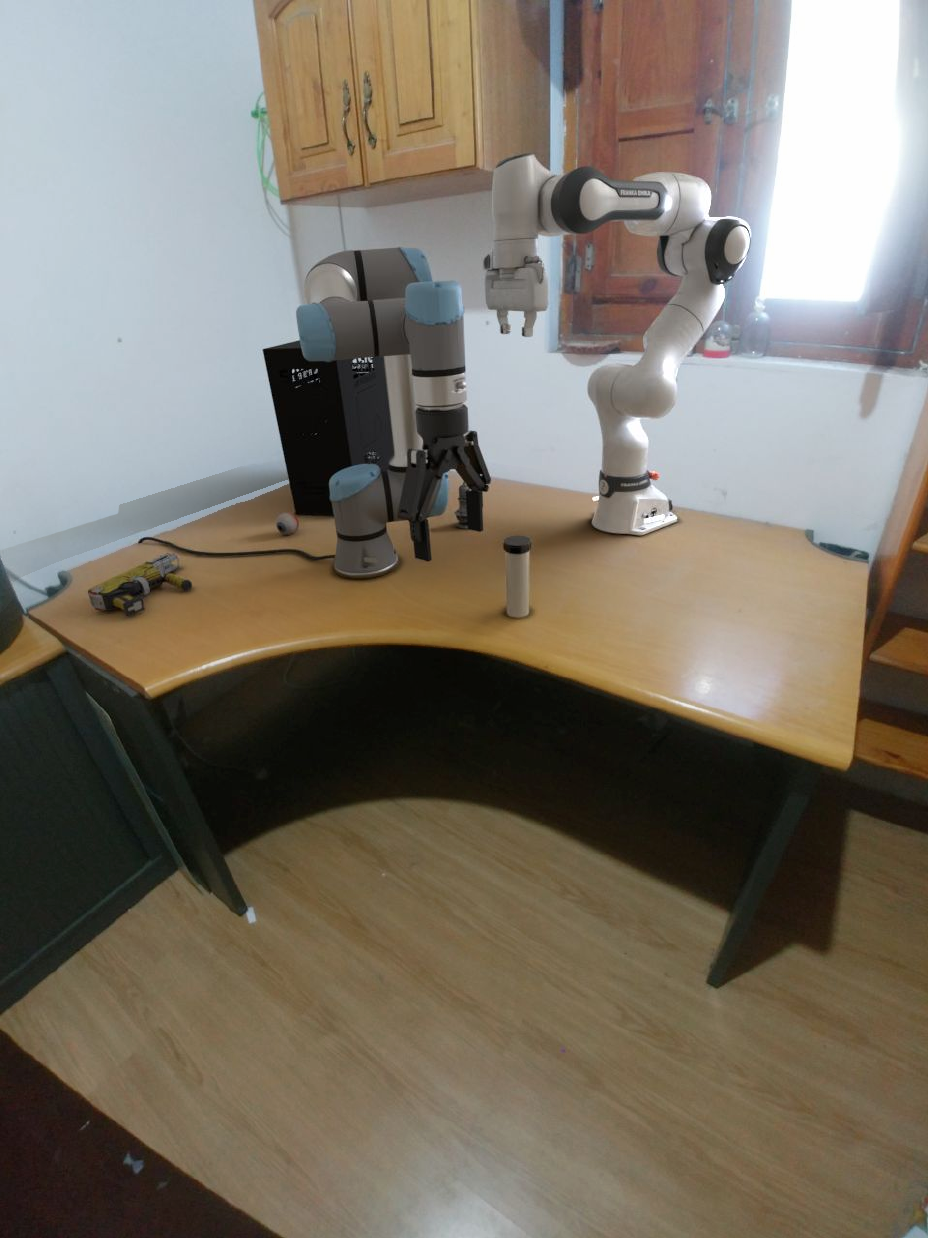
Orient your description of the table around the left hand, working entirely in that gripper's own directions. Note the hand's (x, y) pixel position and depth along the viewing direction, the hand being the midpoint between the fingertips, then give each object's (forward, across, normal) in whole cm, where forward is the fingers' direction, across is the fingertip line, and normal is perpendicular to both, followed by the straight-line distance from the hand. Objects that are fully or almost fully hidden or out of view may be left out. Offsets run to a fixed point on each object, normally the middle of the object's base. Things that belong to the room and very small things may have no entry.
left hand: (450, 544), depth 96 cm
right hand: (-26, +47, +17) cm, 57 cm away
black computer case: (+22, +57, +86) cm, 106 cm away
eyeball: (+22, +24, +77) cm, 83 cm away
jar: (+22, +20, 0) cm, 30 cm away
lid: (+7, +20, 0) cm, 22 cm away
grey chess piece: (+22, +54, +38) cm, 70 cm away
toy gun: (+22, -15, +75) cm, 80 cm away
